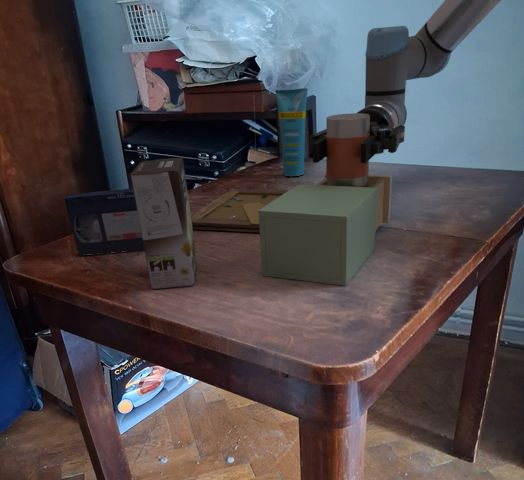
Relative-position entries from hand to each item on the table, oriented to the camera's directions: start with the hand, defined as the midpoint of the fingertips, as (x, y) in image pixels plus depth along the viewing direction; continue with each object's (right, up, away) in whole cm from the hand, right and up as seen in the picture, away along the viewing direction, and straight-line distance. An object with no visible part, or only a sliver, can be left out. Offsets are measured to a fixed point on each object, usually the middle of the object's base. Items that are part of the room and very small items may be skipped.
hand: (338, 153), depth 79 cm
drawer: (+4, -8, +12) cm, 15 cm away
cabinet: (-2, -16, +2) cm, 16 cm away
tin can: (+2, -3, +7) cm, 8 cm away
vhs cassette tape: (-33, -12, +13) cm, 38 cm away
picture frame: (-13, -2, +27) cm, 30 cm away
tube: (-4, +13, +52) cm, 54 cm away
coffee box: (-24, -18, +1) cm, 30 cm away
